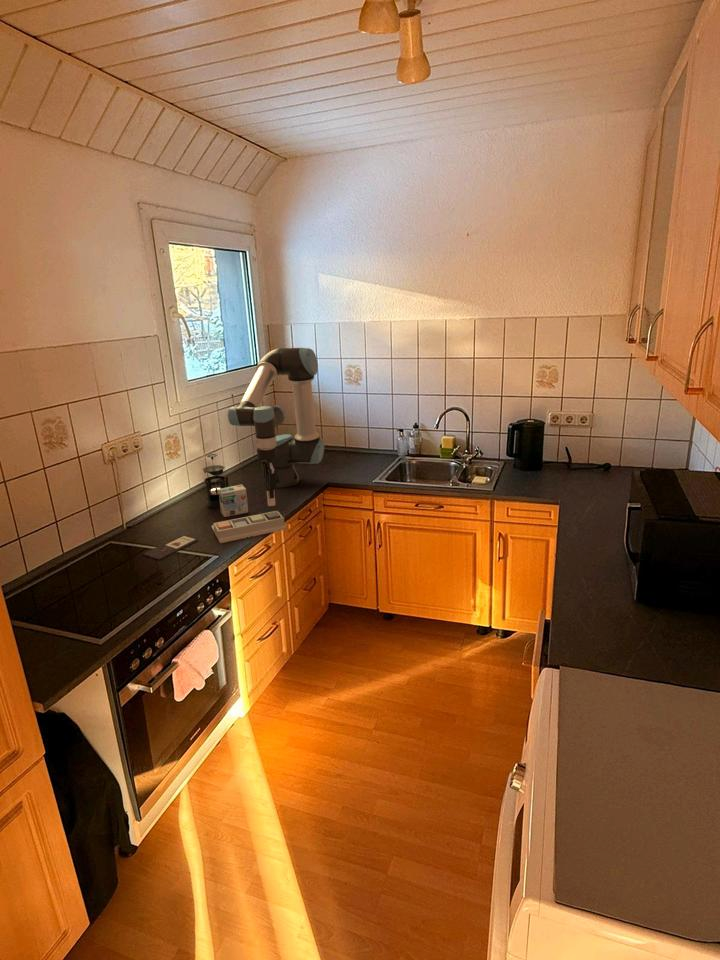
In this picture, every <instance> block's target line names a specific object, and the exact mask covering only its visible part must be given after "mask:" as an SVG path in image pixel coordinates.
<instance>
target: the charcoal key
mask: <svg viewBox="0 0 720 960" xmlns="http://www.w3.org/2000/svg"><path fill="white" fill-rule="evenodd" d="M271 512H272V513H268V512H265V513H266V518H267V519H268V520H273V519H278V518H280V515H279V514H278V513H277V512H273V511H271Z"/></svg>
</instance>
